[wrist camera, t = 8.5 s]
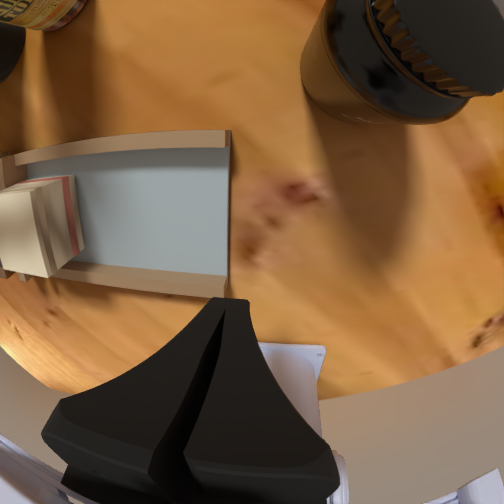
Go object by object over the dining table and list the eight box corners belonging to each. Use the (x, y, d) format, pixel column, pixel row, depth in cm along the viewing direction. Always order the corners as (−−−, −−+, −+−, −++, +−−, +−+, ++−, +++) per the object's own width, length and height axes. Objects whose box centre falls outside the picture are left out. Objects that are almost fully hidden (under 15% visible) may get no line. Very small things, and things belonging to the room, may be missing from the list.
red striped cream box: (85, 248, 20) (48, 278, 15) (38, 244, 20) (3, 269, 16) (74, 173, 17) (30, 190, 13) (27, 179, 18) (-14, 195, 13)
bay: (228, 283, 21) (220, 311, 18) (42, 262, 22) (20, 280, 19) (230, 130, 17) (220, 130, 13) (23, 151, 17) (-5, 159, 14)
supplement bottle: (349, 145, 16) (462, 181, 6) (276, 66, 15) (280, -31, 4) (417, 88, 14) (552, 77, 3) (350, 12, 12) (428, -83, 1)
